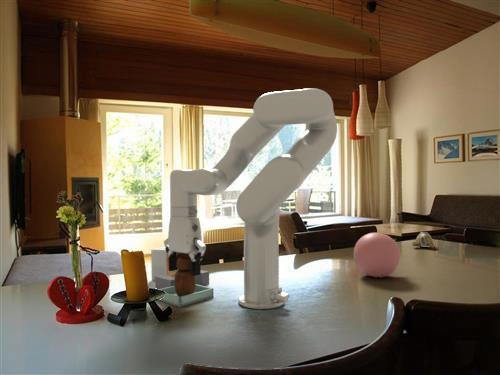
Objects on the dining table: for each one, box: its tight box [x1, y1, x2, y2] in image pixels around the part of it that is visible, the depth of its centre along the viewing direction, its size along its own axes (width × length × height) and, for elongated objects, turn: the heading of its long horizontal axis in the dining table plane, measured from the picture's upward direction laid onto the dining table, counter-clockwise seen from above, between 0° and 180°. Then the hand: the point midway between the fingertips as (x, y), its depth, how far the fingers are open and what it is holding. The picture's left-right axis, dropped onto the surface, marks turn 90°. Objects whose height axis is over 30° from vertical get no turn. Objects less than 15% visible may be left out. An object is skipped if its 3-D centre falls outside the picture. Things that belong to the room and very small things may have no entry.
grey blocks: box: [154, 269, 210, 289], centre depth 127 cm, size 8×15×4 cm, turn 139°
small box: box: [150, 245, 176, 281], centre depth 138 cm, size 8×6×10 cm
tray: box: [159, 284, 214, 308], centre depth 114 cm, size 11×12×2 cm
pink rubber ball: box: [353, 232, 401, 278], centre depth 139 cm, size 15×20×15 cm
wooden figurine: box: [174, 253, 195, 297], centre depth 113 cm, size 7×6×15 cm
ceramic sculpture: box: [411, 230, 436, 248], centre depth 200 cm, size 11×9×15 cm
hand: (184, 272), depth 114 cm, fingers open, 9 cm apart
